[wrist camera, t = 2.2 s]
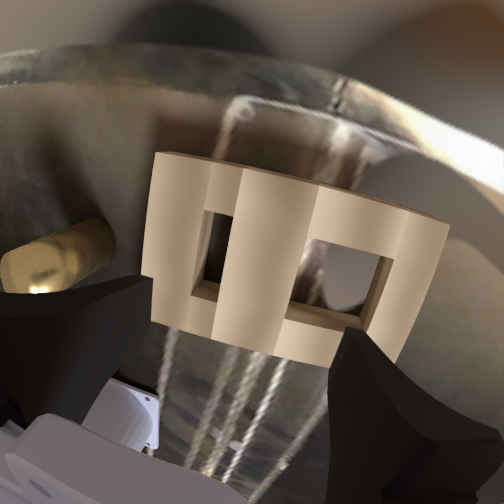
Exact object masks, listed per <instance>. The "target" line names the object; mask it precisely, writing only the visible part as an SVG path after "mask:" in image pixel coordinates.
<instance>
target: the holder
mask: <svg viewBox="0 0 504 504" xmlns="http://www.w3.org/2000/svg"><path fill="white" fill-rule="evenodd" d="M215 212H216V213H220V214H225V215H229V216H233V223H232V228H231V233H230V238H229V243H228V248H227V254H226V259H225V264H224V269H223V275H222V280H221V284H218V283H215V282H211V281H207V280H204V279H203V277H204V271H205V265H206V259H207V253H208V247H209V241H210V235H211V230H212V224H213V219H214V213H215ZM449 228H450V225H449V224H447V223H445V222H444V221H442V220H440V219H438V218H436V217H434V216H432V215H429V214H426V213H423V212H420V211H417V210H414V209H411V208H407V207H404V206H401V205H398V204H395V203H391V202H388V201H384V200H381V199H378V198H374V197H371V196H368V195H364V194H361V193H357V192H354V191H350V190H346V189H343V188H339V187H335V186H332V185H328V184H324V183H320V182H316V181H312V180H308V179H304V178H300V177H296V176H292V175H288V174H283V173H279V172H275V171H270V170H266V169H261V168H257V167H252V166H247V165H242V164H238V163H233V162H228V161H223V160H217V159H212V158H207V157H201V156H196V155H190V154H185V153H179V152H156V154H155V160H154V166H153V172H152V179H151V186H150V193H149V201H148V209H147V217H146V226H145V235H144V245H143V256H142V268H141V275H144V276H148V277H151V278H154V279H153V294H152V310H151V320H152V321H155V322H158V323H161V324H164V325H167V326H170V327H173V328H176V329H179V330H183V331H186V332H189V333H193V334H196V335H199V336H203V337H206V338H209V339H213V340H216V341H220V342H224V343H227V344H231V345H234V346H238V347H242V348H246V349H250V350H253V351H257V352H261V353H265V354H269V355H274V356H278V357H282V358H286V359H290V360H295V361H299V362H304V363H308V364H313V365H318V366H323V367H327V368H330V366H331V364H332V361H333V359H334V356H335V354H336V351H337V349H338V346H339V344H340V341H341V339H342V336H343V333H344V331H345V328H346V326H348V327H353V328H358V329H362V330H363V331H365V332H366V333H367V334H368V336H369V337H370V338H371V339H372V340H373V341H374V342H375V343H376V344H377V345H378V347H379V348H380V349H381V350H382V351H383V352H384V353H385V354H386V356H387V357H388V358H389V359H390V360H391V361H392V362H393V363H394V364H395V362H396V360H397V358H398V356H399V354H400V352H401V349H402V347H403V345H404V343H405V341H406V339H407V337H408V335H409V333H410V330H411V328H412V326H413V324H414V322H415V319H416V317H417V315H418V312H419V310H420V308H421V305H422V303H423V301H424V298H425V296H426V293H427V291H428V288H429V286H430V283H431V280H432V278H433V275H434V272H435V270H436V267H437V264H438V261H439V259H440V256H441V253H442V250H443V247H444V244H445V241H446V238H447V235H448V231H449ZM307 237H311V238H315V239H319V240H323V241H327V242H331V243H335V244H339V245H343V246H347V247H350V248H354V249H358V250H362V251H365V252H369V253H373V254H377V255H380V256H381V257H380V260H379V263H378V265H377V268H376V271H375V274H374V277H373V280H372V283H371V286H370V289H369V291H368V294H367V297H366V299H365V302H364V305H363V308H362V310H361V313H360V315H359V316H354V315H350V314H346V313H341V312H337V311H333V310H328V309H324V308H320V307H316V306H311V305H307V304H303V303H299V302H295V301H291V300H290V296H291V293H292V289H293V285H294V282H295V278H296V275H297V271H298V267H299V264H300V260H301V256H302V253H303V249H304V245H305V241H306V238H307Z"/></svg>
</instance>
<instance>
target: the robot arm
mask: <svg viewBox="0 0 504 504" xmlns="http://www.w3.org/2000/svg"><path fill="white" fill-rule="evenodd" d="M153 279H154V278H151V277H148V276H144V275H141V274H135V275H130V276H125V277H121V278H117V279H113V280H110V281H106V282H102V283H98V284H94V285H89V286H85V287H80V288H76V289H70V290H64V291H56V292H46V293H7V292H0V504H249V503H248V501H247V500H246V499H245V498H244V497H243V496H242V495H240V494H239V493H238V492H236V491H235V490H234V489H232V488H231V487H230V486H228V485H227V484H226V483H223V482H221V481H218V480H216V479H213V478H211V477H208V476H206V475H203V474H201V473H199V472H196V471H192V470H189V469H186V468H183V467H180V466H177V465H174V464H171V463H168V462H165V461H162V460H159V459H157V458H154V457H151V456H149V455H146V454H143V453H141V451H142V449H143V447H144V446H147V447H150V448H153V449H157V448H158V446H159V409H160V399H159V398H158V396H156V395H154V394H151V393H149V392H146V391H143V390H141V389H138V388H136V387H133V386H131V385H128V384H126V383H123V382H121V381H118V380H116V379H114V378H111V377H112V376H113V375H114V373H115V372H116V371H117V370H118V369H119V367H120V366H121V365H122V364H123V363H124V361H125V360H126V359H127V358H128V357H129V355H130V354H131V353H132V352H133V351H134V349H135V348H136V347H137V346H138V344H139V343H140V342H141V340H142V338H143V337H144V335H145V333H146V332H147V330H148V328H149V327H150V325H151V310H152V294H153ZM327 395H328V410H329V423H330V439H331V453H330V465H329V476H328V484H327V492H326V498H325V504H476V503H477V501H478V498H477V495H476V491H477V490H478V489H479V488H480V487H481V486H482V485H484V484H485V483H486V482H487V481H488V480H489V479H490V478H491V477H492V476H493V475H494V474H495V472H496V471H497V470H498V469H499V468H500V467H501V465H502V463H503V461H504V441H503V439H502V437H501V435H500V433H499V431H498V430H497V429H495V428H492V427H490V426H487V425H484V424H482V423H479V422H477V421H474V420H472V419H470V418H468V417H466V416H464V415H462V414H460V413H458V412H456V411H454V410H453V409H451V408H449V407H447V406H446V405H444V404H443V403H441V402H440V401H438V400H436V399H435V398H433V397H432V396H431V395H429V394H428V393H426V392H425V391H424V390H423V389H421V388H420V387H419V386H418V385H416V384H415V383H414V382H413V381H412V380H411V379H409V378H408V377H407V376H406V375H405V374H404V373H403V372H402V371H401V370H400V369H399V368H398V367H397V366H396V365H395V364H394V363H393V362H392V361H391V360H390V359H389V358H388V357H387V356H386V354H385V353H384V352H383V351H382V350H381V349H380V348H379V347H378V345H377V344H376V343H375V342H374V341H373V340H372V339H371V338H370V337H369V336H368V334H367V333H366V332H365V331H363V330H362V329H358V328H353V327H348V326H346V328H345V331H344V333H343V336H342V339H341V341H340V344H339V346H338V349H337V351H336V354H335V356H334V359H333V361H332V364H331V366H330V369H329V375H328V390H327Z"/></svg>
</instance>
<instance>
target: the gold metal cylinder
mask: <svg viewBox="0 0 504 504" xmlns="http://www.w3.org/2000/svg"><path fill="white" fill-rule="evenodd" d="M115 253H116V238H115V235H114V233H113V231H112V229H111V228H110V226H109V225H108V224H107V223H106V222H104V221H102V220H100V219H96V218H93V219H89V220H86V221H84V222H81V223H78V224H76V225H73V226H70V227H68V228H65V229H63V230H60V231H58V232H55V233H53V234H50V235H48V236H45V237H43V238H40V239H38V240H35V241H33V242H31V243H28V244H26V245H23V246H21V247H19V248H16V249H14V250H12V251H10V252H7V253H6V254H4V256H3V257H2V260H1V263H0V276H1V281H2V284H3V287H4V290H5V292H7V293H46V292H56V291H64V290H66V289H68V288H69V287H71V286H72V285H74V284H76V283H77V282H79V281H80V280H82V279H83V278H85V277H87V276H88V275H90V274H91V273H93V272H94V271H96V270H98V269H99V268H101V267H102V266H104V265H106V264H107V263H109V262H110V261H111V260H112V259H113V258H114V256H115Z"/></svg>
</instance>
